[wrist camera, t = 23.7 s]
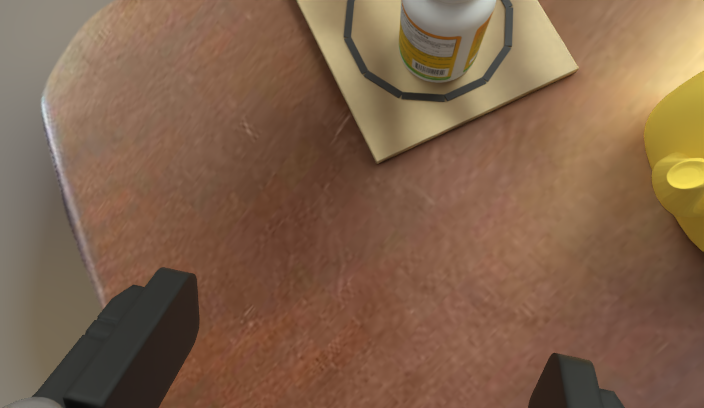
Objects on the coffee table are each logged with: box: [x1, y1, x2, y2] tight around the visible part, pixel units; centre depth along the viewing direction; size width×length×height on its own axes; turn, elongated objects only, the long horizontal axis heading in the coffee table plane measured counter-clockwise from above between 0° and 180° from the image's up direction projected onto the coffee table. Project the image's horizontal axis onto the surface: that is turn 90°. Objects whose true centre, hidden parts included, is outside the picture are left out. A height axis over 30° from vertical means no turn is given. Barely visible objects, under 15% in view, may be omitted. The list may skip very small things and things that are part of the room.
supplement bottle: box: [399, 0, 496, 83], centre depth 32 cm, size 5×5×10 cm
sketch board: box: [296, 0, 579, 164], centre depth 38 cm, size 15×15×1 cm
